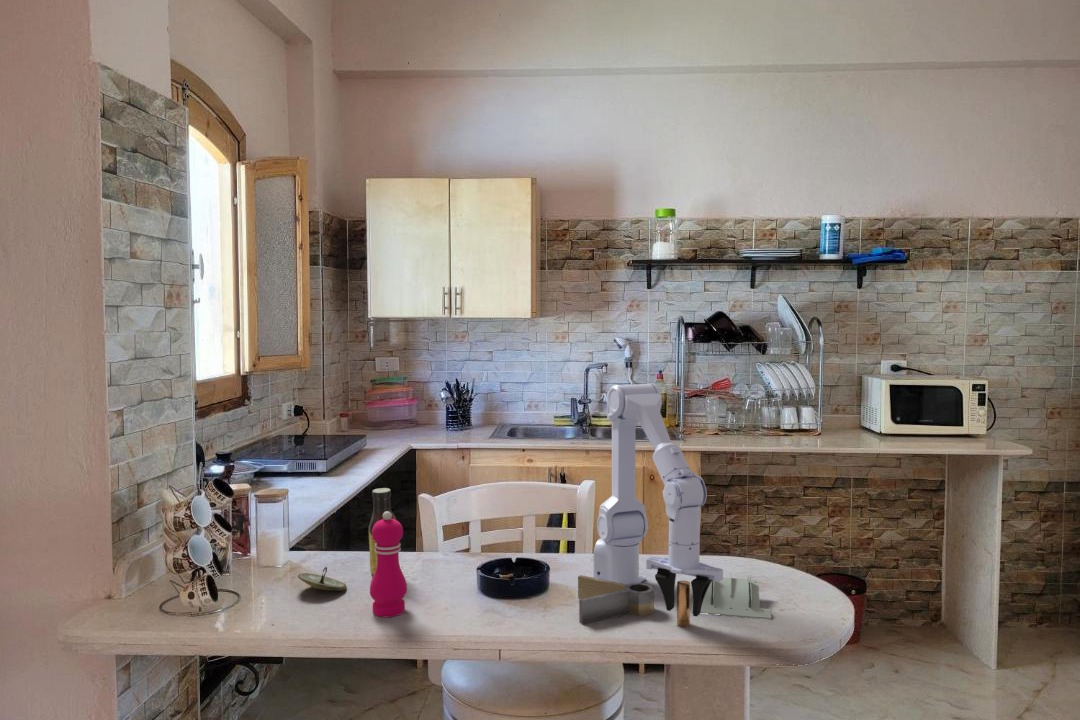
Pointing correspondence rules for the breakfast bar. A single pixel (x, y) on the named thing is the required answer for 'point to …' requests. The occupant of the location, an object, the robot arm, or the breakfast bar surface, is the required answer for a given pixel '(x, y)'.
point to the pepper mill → (388, 569)
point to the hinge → (612, 599)
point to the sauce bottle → (380, 506)
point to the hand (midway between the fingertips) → (683, 611)
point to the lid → (322, 581)
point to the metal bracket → (734, 599)
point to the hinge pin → (683, 603)
